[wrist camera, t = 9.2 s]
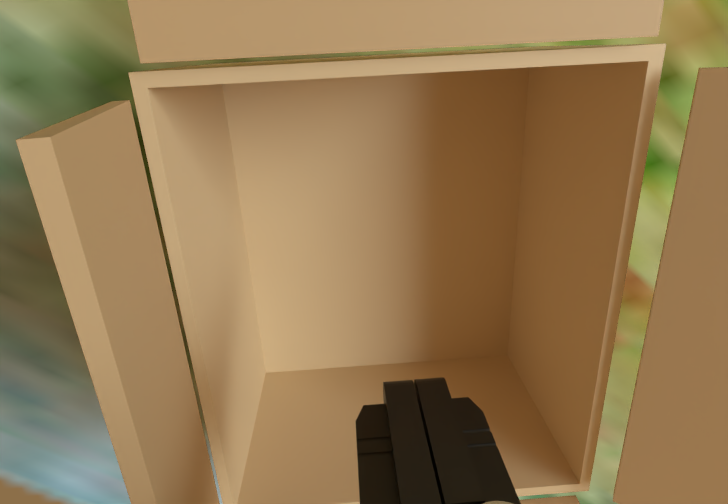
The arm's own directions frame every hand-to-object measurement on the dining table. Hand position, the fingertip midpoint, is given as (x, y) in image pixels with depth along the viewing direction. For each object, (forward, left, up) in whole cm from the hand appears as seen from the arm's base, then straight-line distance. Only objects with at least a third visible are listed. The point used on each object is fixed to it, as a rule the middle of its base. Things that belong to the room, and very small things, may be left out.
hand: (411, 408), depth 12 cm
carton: (0, 0, -13) cm, 13 cm away
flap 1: (0, -6, 0) cm, 6 cm away
